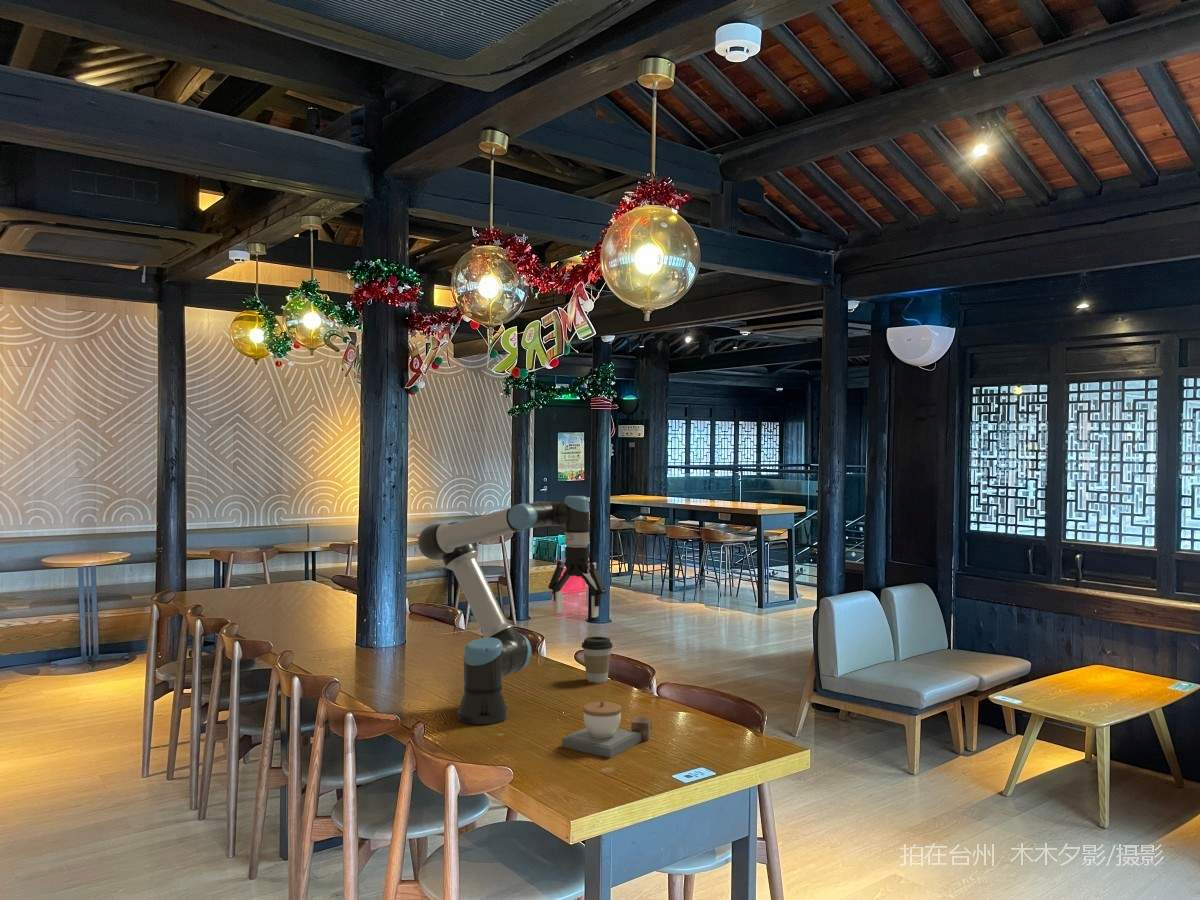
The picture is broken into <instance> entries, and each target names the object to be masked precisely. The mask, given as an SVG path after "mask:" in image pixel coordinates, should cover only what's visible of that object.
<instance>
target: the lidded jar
mask: <svg viewBox="0 0 1200 900" xmlns="http://www.w3.org/2000/svg"><path fill="white" fill-rule="evenodd" d="M582 712H583V724H584V726H585V727H586V728H587V730H588V731H589V732H590V733H591V735H592V736H593V737H596V738H608V737H611V736H613V734H614V733H615V732H616V730H617V729H618V728H619V727H620V723H621V720H622V719H621V717H622V706H621V705H620V704H618V703H615V702H611V701H605V700H600V701H593V702H592V701H591V702H588V703H586V704H584V705H583V707H582Z"/></svg>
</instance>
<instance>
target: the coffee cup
mask: <svg viewBox="0 0 1200 900" xmlns="http://www.w3.org/2000/svg"><path fill="white" fill-rule="evenodd" d="M581 648H582V651H583V658H584V666H585V665H586V666H585V667H584V669H585V675H586V680H589V681H591V682H596V683H595V684H603V683H602V682H605V683H607V681H608V678H609V671H610V670H609V669H610V661H611V653H612V648H613V643H612V642H611V640H610V638H609V637H606V636H589V637H586V638H584V640H583V642H582V643H581Z"/></svg>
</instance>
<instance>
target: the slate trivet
mask: <svg viewBox="0 0 1200 900" xmlns="http://www.w3.org/2000/svg"><path fill="white" fill-rule="evenodd" d="M641 742H642V740H641V733H640V732H635V731H631V729H630V730H629V729H624V728H619V727H618V729H617V730H616V732H615V733H614V734H613V736H611V737H608V738H596V737H593V736H592V735H591V733H590V732H589V731H588V730H587V728H586V726H585V727H583V728H581V729H578V730H576V731H573V732H571V733H570V734H568V735H565V736H563V737H561V747H562V748H565V749H570V750H574V751H578V752H582V753H587V754H590V755H596V756H599V757H603V756H605V758H608V757H609V758H608V759H612V758H613V756H614V757H616V756H617V754H618V755H620V754H621V753H623V752H625V751H626V750H629V749H630V748H632V747H634V746H636V745H638V744H640V743H641ZM615 755H616V756H615ZM611 757H612V758H611Z"/></svg>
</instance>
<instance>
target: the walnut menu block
mask: <svg viewBox="0 0 1200 900" xmlns="http://www.w3.org/2000/svg"><path fill="white" fill-rule="evenodd" d="M630 723H631V724H630V731H635V732H640V733H641V741H645V742H649V740H651V738H652V736H653V718H650V717H640V716H639V717H638V716H634V718H633V719H632V720H631V722H630Z"/></svg>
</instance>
